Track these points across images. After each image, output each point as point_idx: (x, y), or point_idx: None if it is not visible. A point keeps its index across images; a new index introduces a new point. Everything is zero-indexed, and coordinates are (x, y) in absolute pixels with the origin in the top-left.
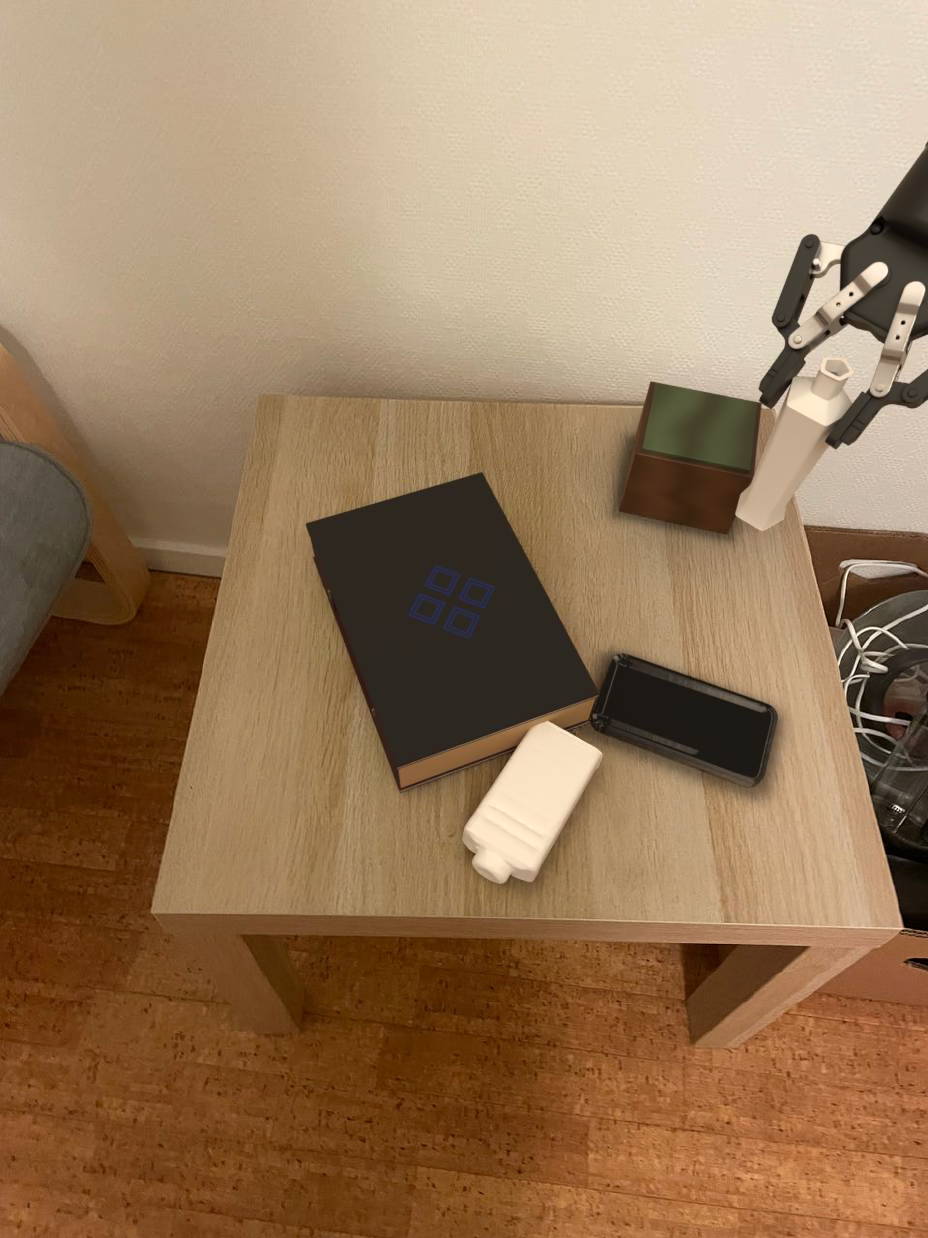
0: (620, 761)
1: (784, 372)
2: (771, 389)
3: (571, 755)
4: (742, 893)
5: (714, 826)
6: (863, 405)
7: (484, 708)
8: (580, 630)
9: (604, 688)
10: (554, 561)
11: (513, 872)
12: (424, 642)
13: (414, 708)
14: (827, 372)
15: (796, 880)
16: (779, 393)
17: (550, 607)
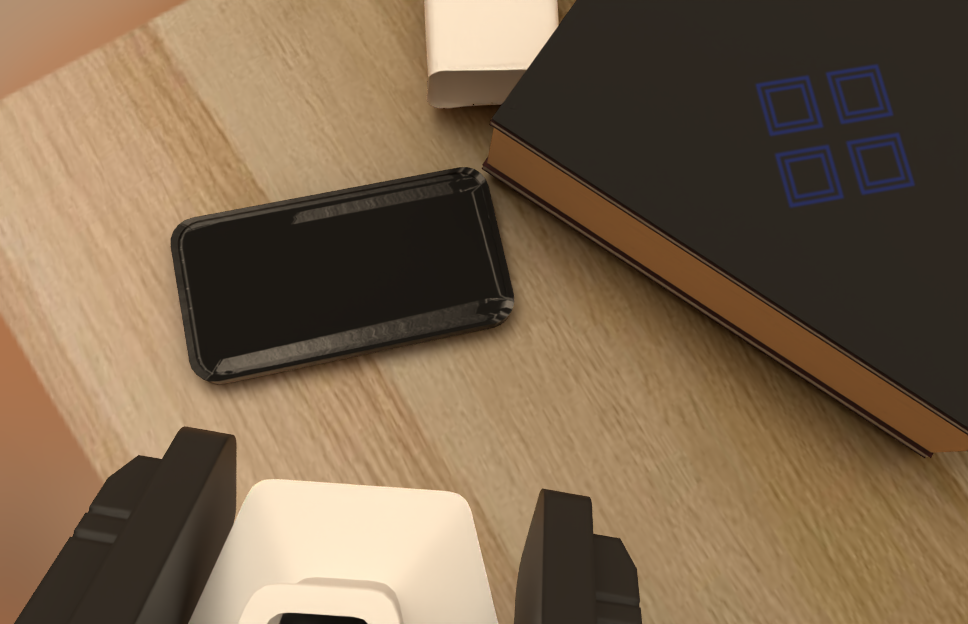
0: (402, 152)
1: (565, 611)
2: (567, 527)
3: (472, 36)
4: (134, 67)
5: (216, 138)
6: (93, 580)
7: None
8: (596, 338)
9: (494, 235)
10: (726, 449)
11: None
12: (814, 33)
13: None
14: (346, 605)
15: (63, 130)
16: (527, 587)
17: (673, 229)
